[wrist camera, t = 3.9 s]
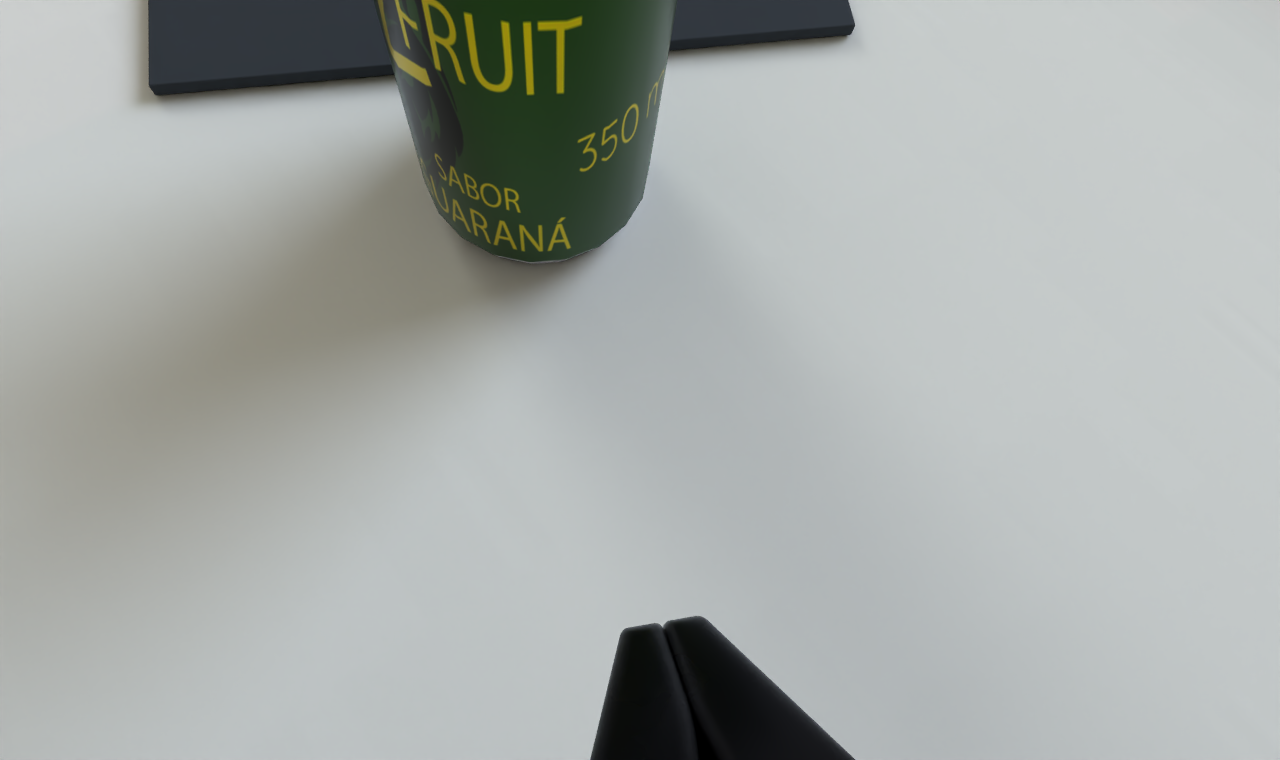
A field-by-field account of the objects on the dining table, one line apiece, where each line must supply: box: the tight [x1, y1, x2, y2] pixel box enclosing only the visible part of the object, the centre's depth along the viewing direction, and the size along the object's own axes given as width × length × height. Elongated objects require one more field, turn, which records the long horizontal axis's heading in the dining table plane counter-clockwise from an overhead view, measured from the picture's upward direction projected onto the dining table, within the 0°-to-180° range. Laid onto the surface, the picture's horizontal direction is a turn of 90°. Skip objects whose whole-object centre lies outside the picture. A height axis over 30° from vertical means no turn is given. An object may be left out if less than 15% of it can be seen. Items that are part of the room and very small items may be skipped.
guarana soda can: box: [373, 0, 677, 264], centre depth 16 cm, size 5×5×12 cm
